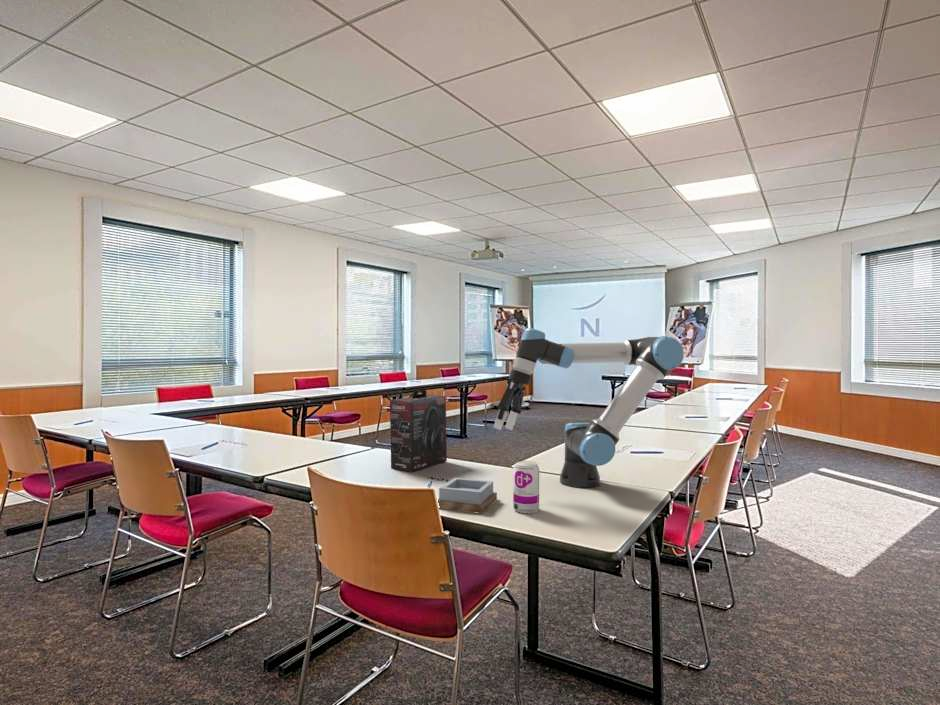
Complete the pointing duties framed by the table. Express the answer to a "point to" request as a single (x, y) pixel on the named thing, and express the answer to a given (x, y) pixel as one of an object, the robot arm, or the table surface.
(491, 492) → the grey rimmed block
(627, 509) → the table surface
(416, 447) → the headset box
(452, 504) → the walnut slab
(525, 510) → the supplement can
